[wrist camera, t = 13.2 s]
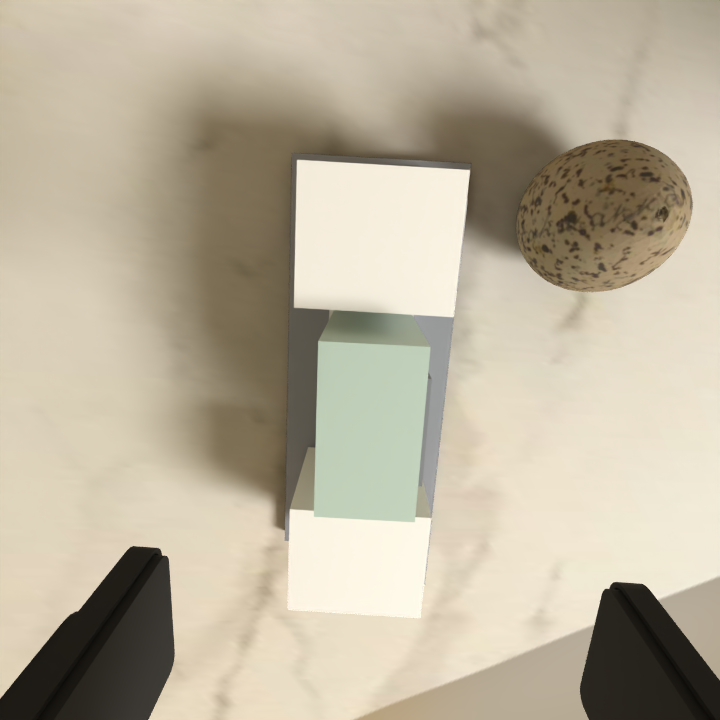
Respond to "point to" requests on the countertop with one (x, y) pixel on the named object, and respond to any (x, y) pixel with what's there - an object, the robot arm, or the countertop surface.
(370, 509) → the block
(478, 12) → the countertop surface
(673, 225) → the decorative egg
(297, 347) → the board
